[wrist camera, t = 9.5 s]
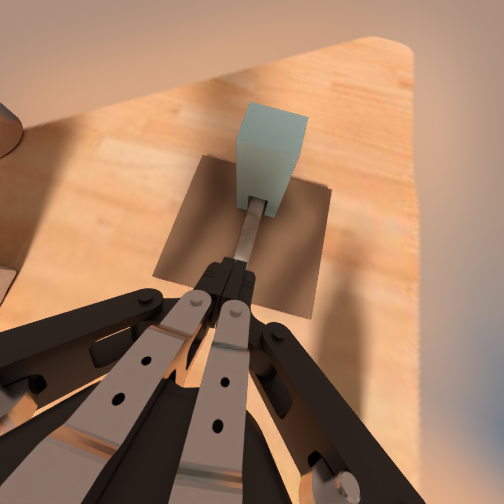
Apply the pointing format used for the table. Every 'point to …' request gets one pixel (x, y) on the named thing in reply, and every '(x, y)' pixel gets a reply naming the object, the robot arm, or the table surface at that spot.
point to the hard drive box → (5, 279)
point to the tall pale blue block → (267, 154)
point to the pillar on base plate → (249, 237)
